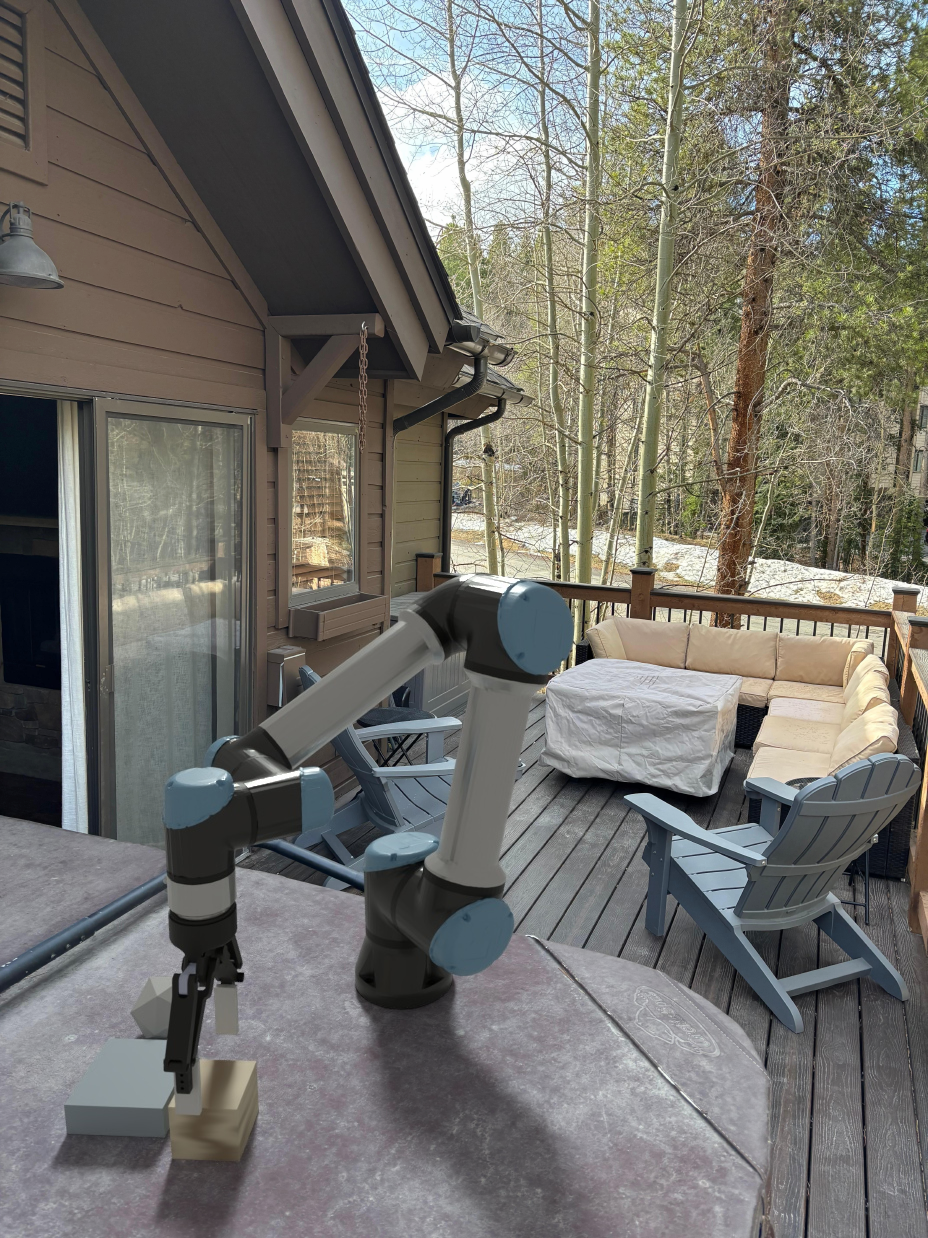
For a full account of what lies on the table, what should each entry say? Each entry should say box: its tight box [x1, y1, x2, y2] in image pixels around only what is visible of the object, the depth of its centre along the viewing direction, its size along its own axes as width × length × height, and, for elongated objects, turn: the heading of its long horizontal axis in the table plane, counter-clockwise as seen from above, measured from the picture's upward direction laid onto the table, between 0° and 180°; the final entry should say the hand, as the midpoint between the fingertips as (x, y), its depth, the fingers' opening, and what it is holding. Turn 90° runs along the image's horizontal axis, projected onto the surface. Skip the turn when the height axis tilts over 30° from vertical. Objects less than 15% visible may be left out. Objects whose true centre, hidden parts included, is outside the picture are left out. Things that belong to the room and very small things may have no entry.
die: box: [129, 976, 173, 1040], centre depth 123 cm, size 8×9×10 cm
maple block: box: [168, 1058, 260, 1162], centre depth 105 cm, size 8×8×7 cm
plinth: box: [63, 1037, 200, 1139], centre depth 110 cm, size 12×12×4 cm
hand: (209, 1070), depth 103 cm, fingers open, 13 cm apart
